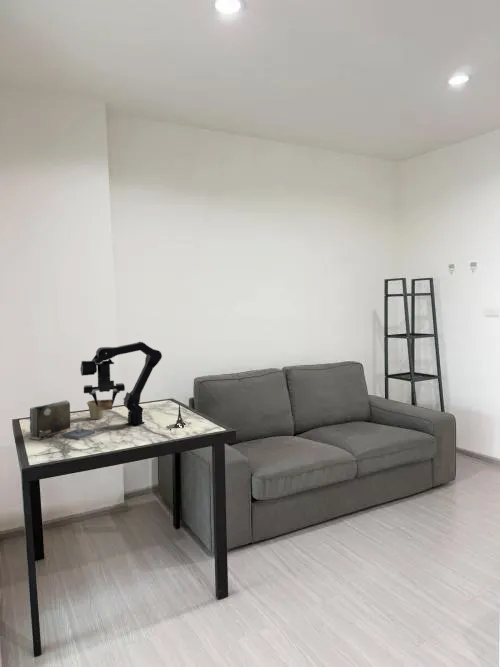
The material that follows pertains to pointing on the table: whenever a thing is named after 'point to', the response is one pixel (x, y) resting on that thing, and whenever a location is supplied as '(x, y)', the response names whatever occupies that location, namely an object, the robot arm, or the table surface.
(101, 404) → the collar
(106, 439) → the table surface
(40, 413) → the radio
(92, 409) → the flower pot
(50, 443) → the table surface
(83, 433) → the hub
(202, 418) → the table surface
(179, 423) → the eiffel tower figurine
